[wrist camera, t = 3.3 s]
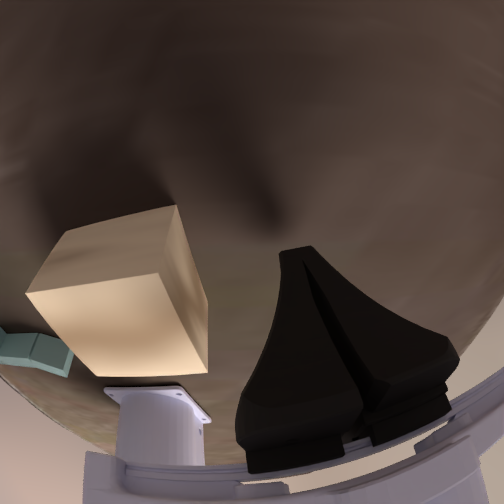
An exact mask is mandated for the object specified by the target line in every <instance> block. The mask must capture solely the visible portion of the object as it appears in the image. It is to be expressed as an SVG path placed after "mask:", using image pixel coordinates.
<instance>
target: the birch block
mask: <svg viewBox="0 0 504 504" xmlns="http://www.w3.org/2000/svg"><path fill="white" fill-rule="evenodd" d="M25 294H26V295H27V296H28V298H29V299H30V301H31V302H32V303H33V305H34V306H35V307H36V309H37V310H38V311H39V313H40V314H41V315H42V317H43V318H44V319H45V320H46V322H47V323H48V324H49V325H50V326H51V328H52V329H53V330H54V331H55V332H56V334H57V335H58V336H59V337H60V338H61V339H62V341H63V342H64V343H65V344H66V345H67V346H68V347H69V348H70V349H71V350H72V352H73V353H74V354H75V355H76V356H77V357H78V358H79V359H80V360H81V361H82V362H83V363H84V364H85V365H86V366H87V367H88V368H89V369H90V370H91V371H92V372H93V373H94V374H95V375H96V376H110V377H139V376H168V375H184V374H197V373H208V302H207V299H206V296H205V293H204V290H203V287H202V284H201V281H200V278H199V275H198V272H197V269H196V266H195V263H194V260H193V257H192V254H191V251H190V248H189V245H188V242H187V238H186V235H185V232H184V229H183V225H182V222H181V219H180V215H179V212H178V209H177V205H171V206H166V207H162V208H157V209H152V210H148V211H144V212H139V213H135V214H131V215H126V216H122V217H118V218H114V219H110V220H106V221H102V222H98V223H94V224H90V225H87V226H83V227H79V228H76V229H72V230H68V231H65V233H64V234H63V236H62V237H61V238H60V240H59V241H58V243H57V244H56V245H55V247H54V248H53V250H52V251H51V253H50V254H49V256H48V257H47V259H46V260H45V262H44V263H43V265H42V266H41V268H40V270H39V271H38V273H37V274H36V276H35V278H34V279H33V281H32V283H31V284H30V286H29V288H28V290H27V291H26V293H25Z"/></svg>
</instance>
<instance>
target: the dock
mask: <svg viewBox="0 0 504 504" xmlns="http://www.w3.org/2000/svg"><path fill="white" fill-rule="evenodd" d="M73 356H74V353H73V352H72V350H71V349H70V348H69V347H68V346H67V345H66V344H65V343H64V342H63V341H62V340H61V339H58V338H54V337H51V336H48V335H45V334H41V333H40V334H38V333H18V334H6V333H5V331H4V330H3V329H2V328H1V327H0V364H7V365H15V366H24V367H35V368H39V369H42V370H45V371H48V372H51V373H54V374H57V375H60V376H63V377H68V373H69V370H70V366H71V363H72V359H73Z"/></svg>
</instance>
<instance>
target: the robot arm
mask: <svg viewBox="0 0 504 504" xmlns="http://www.w3.org/2000/svg"><path fill="white" fill-rule="evenodd" d="M279 260H280V268H281V281H280V291H279V297H278V302H277V307H276V312H275V316H274V320H273V323H272V327H271V330H270V333H269V336H268V339H267V341H266V344H265V347H264V349H263V351H262V354H261V356H260V358H259V360H258V363H257V365H256V367H255V369H254V371H253V373H252V375H251V377H250V379H249V381H248V382H247V384H246V386H245V388H244V389H243V391H242V393H241V397H240V401H239V404H238V409H237V413H236V419H235V432H236V441H237V443H238V444H239V445H240V446H241V447H242V448H243V449H244V450H245V451H246V460H247V463H241V464H227V465H205V463H204V442H203V423H211V418H210V417H209V416H208V415H207V414H206V413H205V412H204V411H203V410H202V409H201V408H200V407H199V406H198V405H197V403H196V402H195V401H194V400H193V399H192V398H191V397H190V396H189V395H188V394H187V392H186V391H185V390H184V389H183V388H182V387H180V386H160V387H105V388H104V392H105V393H106V394H107V395H108V396H110V397H111V398H112V399H113V400H115V401H116V402H117V403H118V404H120V412H119V420H118V429H117V439H116V451H115V456H112V455H107V454H101V453H96V452H90V451H87V452H86V456H85V466H84V480H83V481H84V482H83V504H489V501H488V496H487V493H486V489H485V484H484V480H483V476H482V473H481V470H480V460H479V457H480V456H481V455H482V454H484V453H485V452H486V451H487V450H488V449H490V448H491V447H492V446H493V445H494V444H495V443H496V442H497V441H499V439H501V438H502V437H503V436H504V367H503V368H501V369H500V370H499V371H497V372H496V373H494V374H493V375H491V376H490V377H489V378H487V379H486V380H484V381H483V382H481V383H480V384H478V385H476V386H475V387H473V388H472V389H470V390H468V391H467V392H465V393H463V394H461V395H460V396H458V397H456V398H455V399H453V400H451V401H449V400H448V398H447V396H446V394H445V393H446V392H447V391H448V388H447V385H446V383H445V381H446V380H447V379H448V378H449V377H450V375H451V374H452V373H453V372H454V371H455V369H456V367H457V366H458V364H459V361H460V358H459V356H458V354H457V352H456V350H455V348H454V346H453V345H452V343H451V342H450V340H449V339H448V337H446V336H444V335H441V334H439V333H436V332H433V331H431V330H428V329H425V328H423V327H421V326H419V325H417V324H414V323H412V322H410V321H408V320H406V319H404V318H402V317H400V316H399V315H397V314H395V313H393V312H392V311H390V310H388V309H386V308H385V307H383V306H382V305H380V304H378V303H377V302H375V301H374V300H373V299H371V298H370V297H368V296H367V295H366V294H364V293H363V292H362V291H360V290H359V289H358V288H356V287H355V286H354V285H353V284H351V283H350V282H349V281H348V280H347V279H346V278H344V277H343V276H342V275H341V274H340V273H339V272H338V271H337V270H336V269H334V268H333V267H332V266H331V265H330V264H329V263H328V262H327V261H326V260H325V259H324V258H323V257H322V256H321V255H320V254H319V253H318V252H317V251H316V250H315V249H314V248H313V247H312V246H305V247H300V248H295V249H290V250H285V251H281V252H280V253H279ZM448 420H449V421H448ZM446 421H448V423H447V424H446V425H445V426H443V427H442V428H440V429H438V430H436V431H434V432H433V433H432V434H431V435H429V436H428V437H426V438H425V439H423V440H422V441H420V442H418V443H417V444H415V445H414V449H415V452H416V455H414V456H411V457H409V458H407V459H405V460H402V461H400V462H398V463H395V464H393V465H390V466H388V467H385V468H383V469H380V470H377V471H375V472H372V473H369V474H366V475H363V476H360V477H357V478H354V479H351V480H347V481H344V482H340V483H337V484H333V485H329V486H325V487H321V488H317V489H312V490H307V491H302V492H297V493H292V494H290V492H289V487H288V485H287V484H284V483H283V482H271V483H258V484H245V485H244V484H242V483H240V482H246V481H256V480H265V479H273V478H280V477H286V476H292V475H298V474H303V473H308V472H312V471H317V470H321V469H325V468H329V467H333V466H337V465H340V464H344V463H347V462H351V461H354V460H357V459H360V458H363V457H366V456H369V455H372V454H375V453H378V452H381V451H383V450H386V449H388V448H391V447H393V446H396V445H398V444H401V443H403V442H405V441H408V440H410V439H412V438H414V437H416V436H418V435H421V434H422V433H425V432H427V431H429V430H431V429H433V428H435V427H437V426H439V425H440V424H442V423H444V422H446Z"/></svg>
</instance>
